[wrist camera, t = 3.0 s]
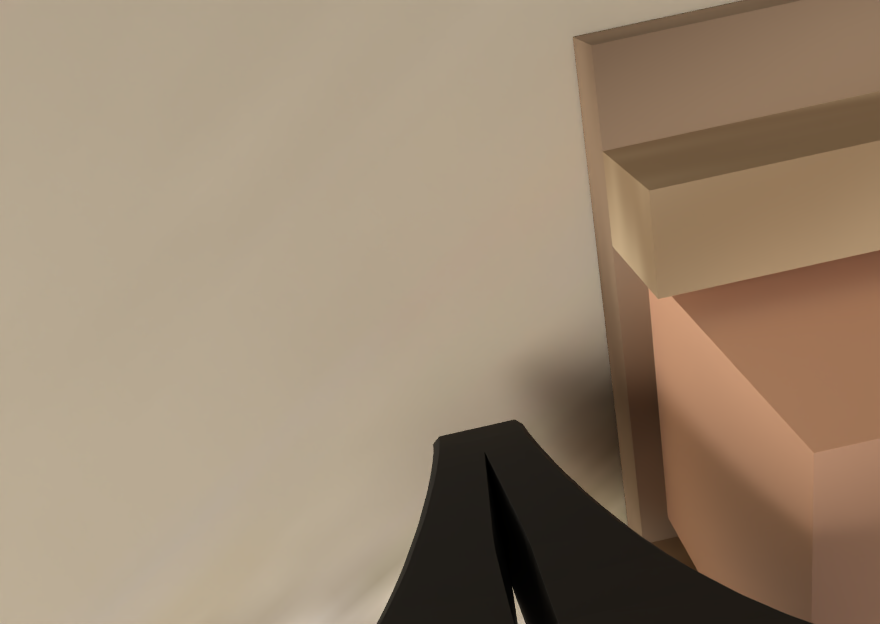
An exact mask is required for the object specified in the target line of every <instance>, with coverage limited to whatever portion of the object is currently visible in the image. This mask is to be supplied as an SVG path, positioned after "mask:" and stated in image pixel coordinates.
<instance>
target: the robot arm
mask: <svg viewBox="0 0 880 624" xmlns="http://www.w3.org/2000/svg"><path fill="white" fill-rule="evenodd" d="M433 447H434V454H433V464H432V471H431V477H430V481H429V486H428V491H427V495H426V499H425V502H424V506H423V510H422V513H421V517H420V521H419V524H418V527H417V530H416V533H415V536H414V539H413V542H412V544H411V547H410V550H409V553H408V556H407V558H406V561H405V564H404V566H403V569H402V571H401V574H400V576H399V579H398V581H397V583H396V585H395V588H394V590H393V592H392V594H391V596H390V598H389V601H388V603H387V605H386V607H385V609H384V611H383V613H382V615H381V617H380V619H379V621H378V622H377V624H518V623H517V616H516V609H515V603H514V596H513V590H514V593H515V595H516V598H517V601H518V604H519V606H520V609H521V612H522V615H523V617H524V620H525V623H526V624H813V623H811V622H808V621H805V620H802V619H799V618H796V617H793V616H791V615H788V614H786V613H783V612H781V611H779V610H776V609H774V608H772V607H769V606H767V605H765V604H762V603H760V602H758V601H756V600H753V599H751V598H749V597H746V596H744V595H742V594H740V593H738V592H736V591H734V590H732V589H730V588H728V587H726V586H724V585H722V584H720V583H718V582H717V581H715V580H713V579H711V578H709V577H707V576H705V575H703V574H701V573H699V572H697V571H696V570H694V569H692V568H690V567H688V566H687V565H685V564H684V563H682V562H680V561H679V560H677V559H675V558H674V557H672V556H670V555H669V554H667V553H666V552H664V551H663V550H661V549H660V548H658V547H657V546H655V545H654V544H652V543H651V542H649V541H648V540H646V539H645V538H643V537H642V536H640V535H639V534H638V533H636V532H635V531H633V530H632V529H631V528H629V527H628V526H627V525H625V524H624V523H623V522H621V521H620V520H619V519H618V518H616V517H615V516H614V515H613V514H611V513H610V512H609V511H608V510H606V509H605V508H604V507H603V506H601V505H600V504H599V503H598V502H597V501H596V500H594V499H593V498H592V497H591V496H590V495H589V494H588V493H586V492H585V491H584V490H583V489H582V488H581V487H580V486H579V485H578V484H577V483H576V482H575V481H574V480H572V479H571V478H570V477H569V476H568V475H567V474H566V473H565V472H564V471H563V470H562V469H561V468H560V467H559V466H558V465H557V464H556V463H555V462H554V461H553V460H552V459H551V458H550V457H549V456H548V454H547V453H546V452H545V451H544V450H543V449H542V448H541V447H540V446H539V444H538V443H537V442H536V441H535V440H534V439H533V437H532V436H531V435H530V434H529V432H528V431H527V430H526V428H525V427H524V425H523V424H521V423H520V422H518V421H517V420H511V421H506V422H502V423H497V424H493V425H489V426H484V427H480V428H475V429H471V430H467V431H462V432H458V433H453V434H449V435H444V436H440V437H439V438H438V439H437V440H436V442H435V443H434V444H433ZM512 587H513V589H512Z"/></svg>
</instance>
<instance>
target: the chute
mask: <svg viewBox="0 0 880 624" xmlns="http://www.w3.org/2000/svg"><path fill="white" fill-rule="evenodd" d="M573 42H574V51H575V60H576V69H577V77H578V86H579V95H580V104H581V113H582V122H583V131H584V139H585V148H586V157H587V166H588V175H589V184H590V193H591V202H592V210H593V219H594V228H595V237H596V246H597V255H598V264H599V272H600V281H601V290H602V299H603V308H604V317H605V326H606V335H607V343H608V352H609V361H610V370H611V379H612V388H613V397H614V405H615V414H616V423H617V432H618V441H619V450H620V459H621V467H622V476H623V485H624V494H625V503H626V512H627V521H628V527H629V528H631V529H632V530H633V531H635V532H636V533H638V534H639V535H640V536H642V537H643V538H645V539H646V540H648V541H649V542H651V543H652V544H654V545H655V546H657V547H658V548H660V549H661V550H663V551H664V552H666V553H667V554H669V555H670V556H672V557H674V558H675V559H677V560H679V561H680V562H682V563H684V564H685V565H687V566H688V567H690V568H692V569H694V570H696V571H697V572H698V570H697V569H696V567H695V565H694V563H693V562H692V560H691V558H690V556H689V554H688V553H687V551H686V549H685V547H684V545H683V544H682V542H681V540H680V538H679V536H678V535H677V533H676V531H675V529H674V528H673V526H672V524H671V522H670V520H669V519H668V514H667V502H666V490H665V478H664V467H663V455H662V443H661V431H660V419H659V408H658V396H657V384H656V372H655V361H654V349H653V337H652V325H651V314H650V302H649V290H648V288H649V289H650V290H651V291H652V293H653V294H654V295H655V296H656V297H657V298H658V299H661V298H665V297H670V296H674V295H679V294H683V293H688V292H692V291H697V290H701V289H706V288H710V287H715V286H719V285H724V284H729V283H733V282H738V281H742V280H747V279H751V278H756V277H760V276H765V275H769V274H774V273H778V272H783V271H787V270H792V269H796V268H801V267H805V266H810V265H815V264H819V263H824V262H828V261H833V260H837V259H842V258H846V257H851V256H855V255H860V254H864V253H869V252H873V251H878V250H880V0H743V1H738V2H734V3H729V4H724V5H720V6H715V7H710V8H706V9H701V10H696V11H692V12H687V13H682V14H678V15H673V16H668V17H664V18H659V19H654V20H650V21H645V22H640V23H636V24H631V25H626V26H622V27H617V28H612V29H608V30H603V31H599V32H594V33H589V34H585V35H580V36H575V37H573Z"/></svg>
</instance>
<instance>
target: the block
mask: <svg viewBox="0 0 880 624" xmlns="http://www.w3.org/2000/svg"><path fill="white" fill-rule="evenodd" d="M648 290H649V302H650V314H651V325H652V337H653V349H654V361H655V372H656V384H657V396H658V408H659V419H660V431H661V443H662V455H663V467H664V478H665V490H666V502H667V514H668V519H669V520H670V522H671V524H672V526H673V528H674V529H675V531H676V533H677V535H678V536H679V538H680V540H681V542H682V544H683V545H684V547H685V549H686V551H687V553H688V554H689V556H690V558H691V560H692V562H693V563H694V565H695V567H696V569H697V570H698V572H699V573H701V574H703V575H705V576H707V577H709V578H711V579H713V580H715V581H717V582H718V583H720V584H722V585H724V586H726V587H728V588H730V589H732V590H734V591H736V592H738V593H740V594H742V595H744V596H746V597H749V598H751V599H753V600H756V601H758V602H760V603H762V604H765V605H767V606H769V607H772V608H774V609H776V610H779V611H781V612H783V613H786V614H788V615H791V616H793V617H796V618H799V619H802V620H805V621H808V622H811V623H813V624H880V250H878V251H873V252H869V253H864V254H860V255H855V256H851V257H846V258H842V259H837V260H833V261H828V262H824V263H819V264H815V265H810V266H805V267H801V268H796V269H792V270H787V271H783V272H778V273H774V274H769V275H765V276H760V277H756V278H751V279H747V280H742V281H738V282H733V283H729V284H724V285H719V286H715V287H710V288H706V289H701V290H697V291H692V292H688V293H683V294H679V295H674V296H670V297H665V298H661V299H658V298H657V297H656V296H655V295H654V294H653V293H652V291H651V290H650V289H649V288H648Z"/></svg>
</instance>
